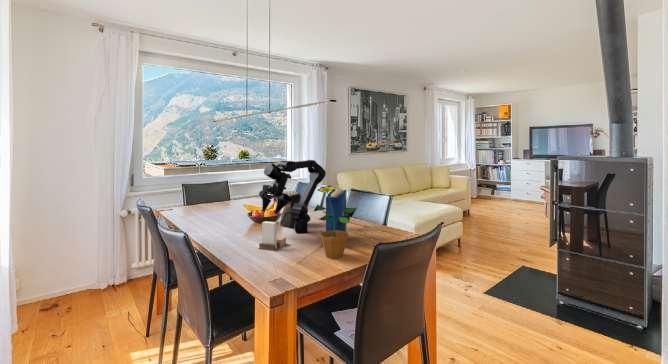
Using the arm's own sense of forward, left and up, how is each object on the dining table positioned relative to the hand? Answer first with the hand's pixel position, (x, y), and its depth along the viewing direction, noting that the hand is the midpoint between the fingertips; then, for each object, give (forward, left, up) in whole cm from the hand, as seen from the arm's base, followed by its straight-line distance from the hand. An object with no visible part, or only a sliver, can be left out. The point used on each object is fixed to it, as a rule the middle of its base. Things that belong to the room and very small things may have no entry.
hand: (269, 212), depth 172 cm
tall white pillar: (+2, +15, -14) cm, 20 cm away
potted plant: (-24, +32, -15) cm, 43 cm away
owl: (-16, -29, -15) cm, 36 cm away
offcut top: (-2, +10, -12) cm, 16 cm away
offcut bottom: (-2, +10, -14) cm, 17 cm away
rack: (0, +12, -14) cm, 19 cm away
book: (-32, +9, -15) cm, 36 cm away
